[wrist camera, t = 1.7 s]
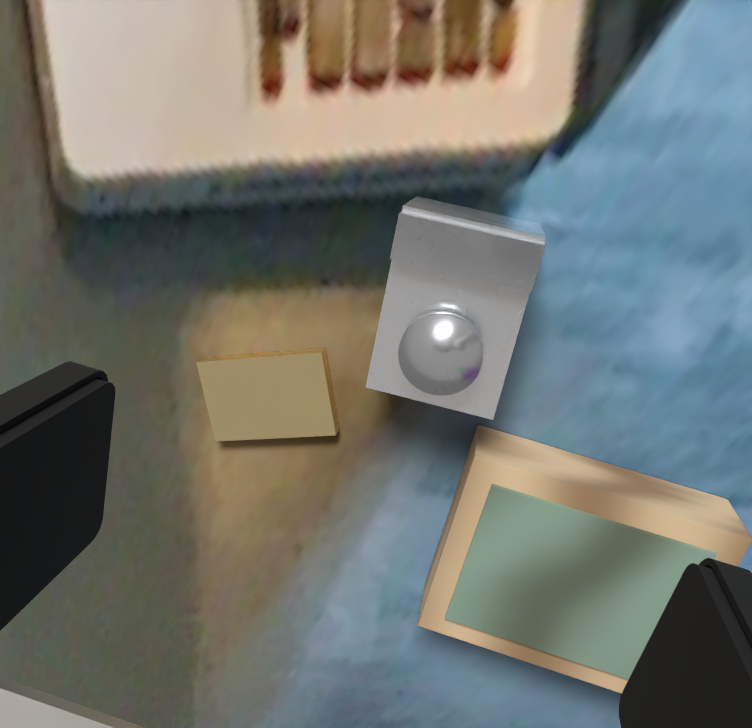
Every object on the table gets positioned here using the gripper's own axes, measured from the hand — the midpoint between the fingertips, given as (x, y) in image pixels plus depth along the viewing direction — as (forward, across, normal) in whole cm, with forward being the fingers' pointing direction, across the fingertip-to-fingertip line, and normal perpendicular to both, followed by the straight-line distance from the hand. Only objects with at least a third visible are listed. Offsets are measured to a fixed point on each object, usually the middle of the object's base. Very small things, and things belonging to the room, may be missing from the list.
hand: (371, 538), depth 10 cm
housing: (+18, 0, 0) cm, 18 cm away
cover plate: (+18, +7, +7) cm, 21 cm away
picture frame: (+18, -8, +10) cm, 22 cm away
